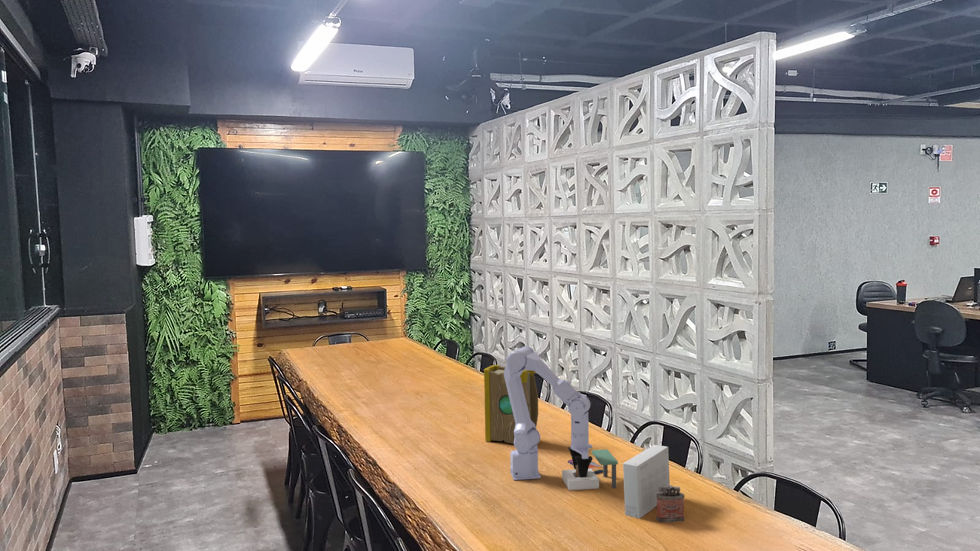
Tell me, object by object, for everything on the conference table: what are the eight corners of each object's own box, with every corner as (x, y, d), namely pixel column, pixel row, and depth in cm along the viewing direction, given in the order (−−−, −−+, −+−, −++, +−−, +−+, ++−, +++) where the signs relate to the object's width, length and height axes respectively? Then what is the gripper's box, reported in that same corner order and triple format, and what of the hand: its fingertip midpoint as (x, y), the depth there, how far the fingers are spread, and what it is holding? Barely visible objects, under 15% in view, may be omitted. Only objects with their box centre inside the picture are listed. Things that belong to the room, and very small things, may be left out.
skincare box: (654, 492, 219) (654, 443, 218) (670, 496, 216) (670, 446, 215) (622, 514, 203) (622, 462, 202) (639, 519, 200) (639, 466, 198)
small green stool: (601, 489, 222) (601, 462, 221) (591, 475, 234) (591, 450, 233) (617, 488, 223) (617, 461, 222) (607, 474, 235) (607, 449, 234)
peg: (586, 484, 226) (585, 467, 226) (577, 485, 226) (577, 467, 225) (583, 481, 229) (583, 464, 229) (574, 482, 229) (574, 464, 228)
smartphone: (583, 460, 252) (583, 457, 252) (607, 472, 238) (607, 469, 238) (566, 463, 248) (566, 460, 248) (589, 476, 235) (589, 472, 235)
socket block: (568, 490, 222) (568, 481, 222) (562, 478, 232) (562, 470, 232) (599, 488, 223) (598, 479, 223) (591, 477, 233) (591, 468, 233)
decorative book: (482, 441, 273) (481, 367, 271) (495, 433, 283) (494, 361, 280) (528, 448, 264) (528, 371, 261) (540, 440, 274) (539, 366, 271)
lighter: (682, 516, 201) (682, 483, 200) (685, 521, 197) (685, 487, 197) (654, 517, 200) (654, 484, 200) (658, 522, 197) (658, 488, 196)
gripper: (597, 438, 219) (597, 480, 220) (586, 425, 234) (586, 464, 235) (576, 440, 219) (576, 481, 220) (565, 426, 233) (566, 465, 234)
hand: (580, 472), depth 227 cm, fingers open, 7 cm apart
